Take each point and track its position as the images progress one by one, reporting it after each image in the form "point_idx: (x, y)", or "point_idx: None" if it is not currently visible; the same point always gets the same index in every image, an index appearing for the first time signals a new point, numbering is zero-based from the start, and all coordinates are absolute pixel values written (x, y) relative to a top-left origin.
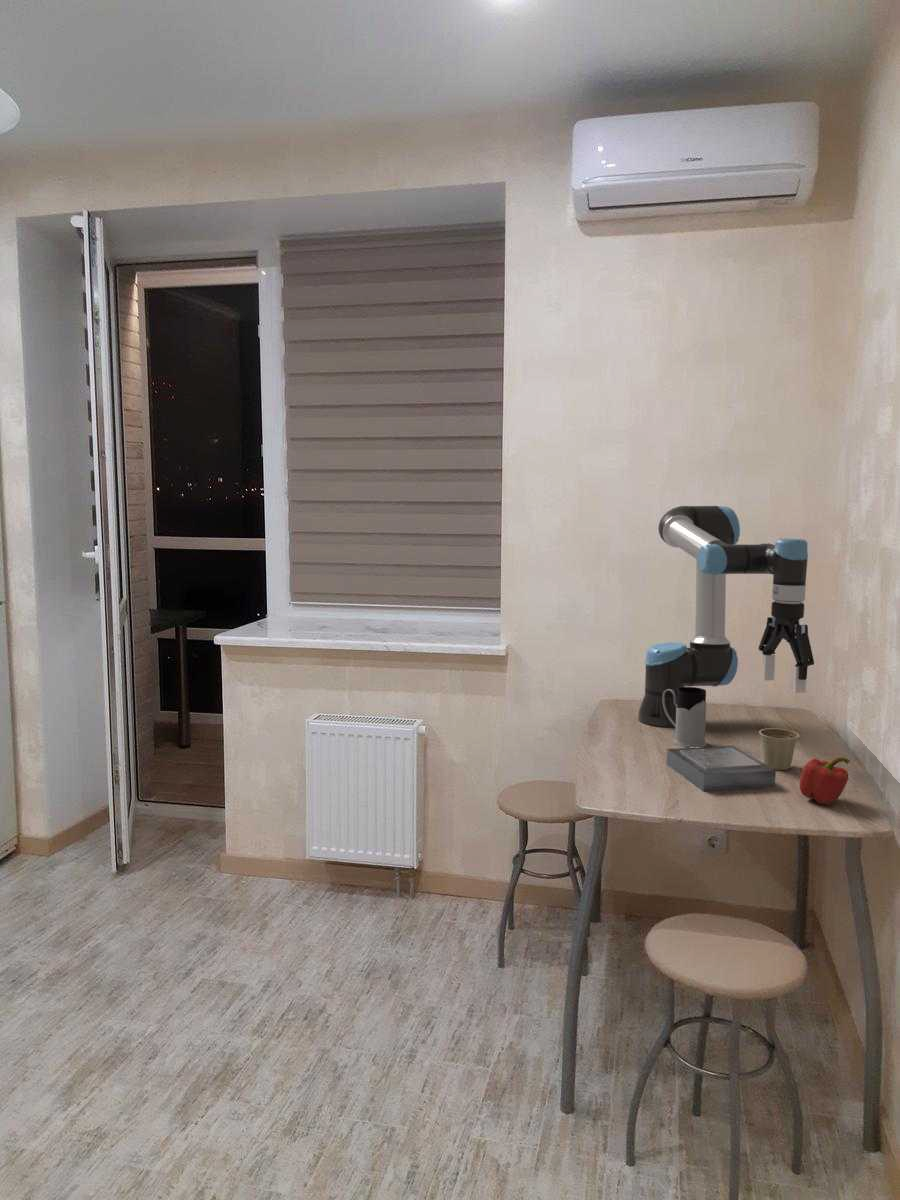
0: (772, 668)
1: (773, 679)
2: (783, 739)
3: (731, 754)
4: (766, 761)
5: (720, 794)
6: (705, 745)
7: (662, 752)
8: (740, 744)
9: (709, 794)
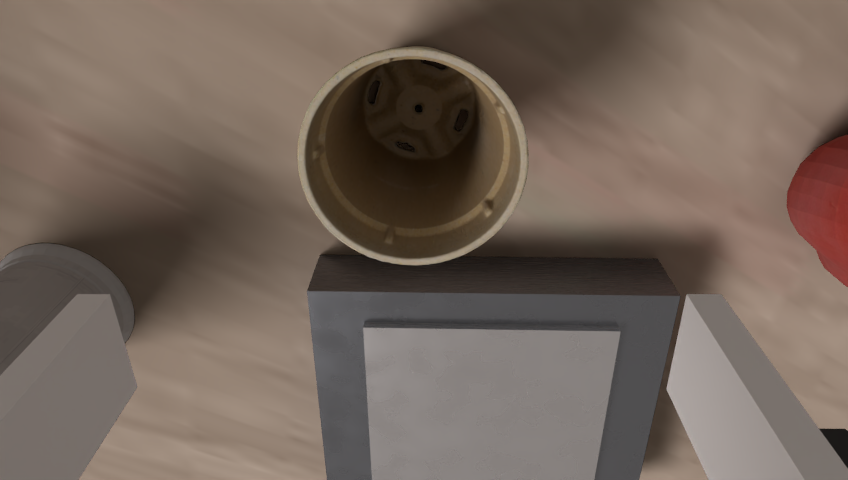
0: (41, 413)
1: (106, 304)
2: (518, 198)
3: (459, 371)
4: (423, 174)
5: (657, 445)
6: (98, 262)
7: (199, 433)
8: (55, 94)
9: (646, 470)
